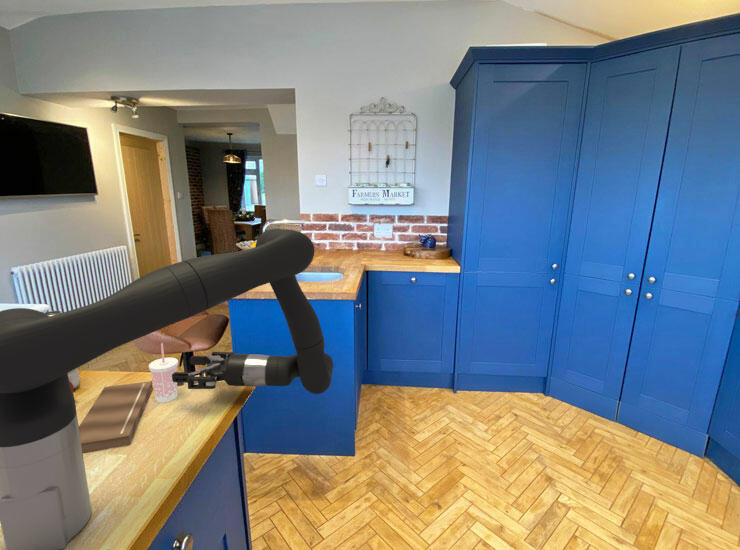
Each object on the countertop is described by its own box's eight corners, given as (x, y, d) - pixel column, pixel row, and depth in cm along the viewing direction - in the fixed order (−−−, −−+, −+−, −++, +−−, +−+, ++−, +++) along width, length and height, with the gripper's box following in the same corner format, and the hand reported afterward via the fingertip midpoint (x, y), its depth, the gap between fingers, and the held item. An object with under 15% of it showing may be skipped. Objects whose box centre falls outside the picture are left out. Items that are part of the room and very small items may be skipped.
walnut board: (169, 437, 73) (169, 428, 73) (67, 455, 67) (66, 445, 67) (184, 381, 95) (183, 374, 94) (107, 391, 89) (106, 383, 88)
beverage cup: (182, 388, 91) (178, 337, 88) (178, 402, 85) (173, 347, 82) (155, 391, 89) (150, 339, 86) (148, 405, 84) (143, 350, 80)
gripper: (257, 343, 93) (194, 341, 92) (239, 370, 79) (164, 368, 78) (258, 370, 94) (196, 368, 94) (240, 400, 80) (167, 398, 80)
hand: (182, 368), depth 86 cm, fingers open, 8 cm apart
